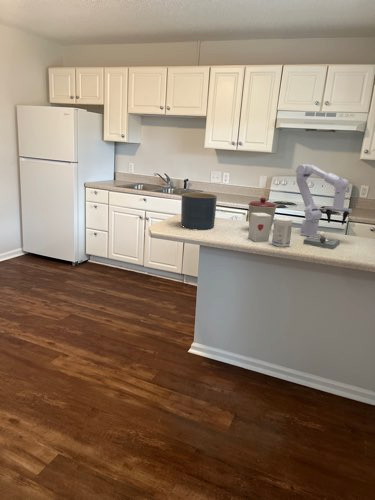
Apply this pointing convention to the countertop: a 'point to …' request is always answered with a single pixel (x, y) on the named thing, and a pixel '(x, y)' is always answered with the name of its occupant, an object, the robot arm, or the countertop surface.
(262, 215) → the supplement box
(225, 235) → the countertop surface
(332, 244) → the grey board with rails
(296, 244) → the countertop surface
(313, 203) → the robot arm
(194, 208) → the planter
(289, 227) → the supplement tub
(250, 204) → the canister
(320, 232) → the cream ball
